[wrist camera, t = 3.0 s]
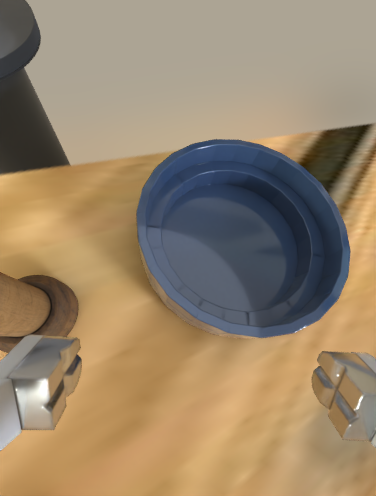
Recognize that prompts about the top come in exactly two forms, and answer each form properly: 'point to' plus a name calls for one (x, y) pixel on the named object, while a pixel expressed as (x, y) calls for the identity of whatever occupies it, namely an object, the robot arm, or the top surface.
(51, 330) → the mortar and pestle
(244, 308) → the bowl
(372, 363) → the robot arm
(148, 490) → the top surface
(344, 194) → the top surface
